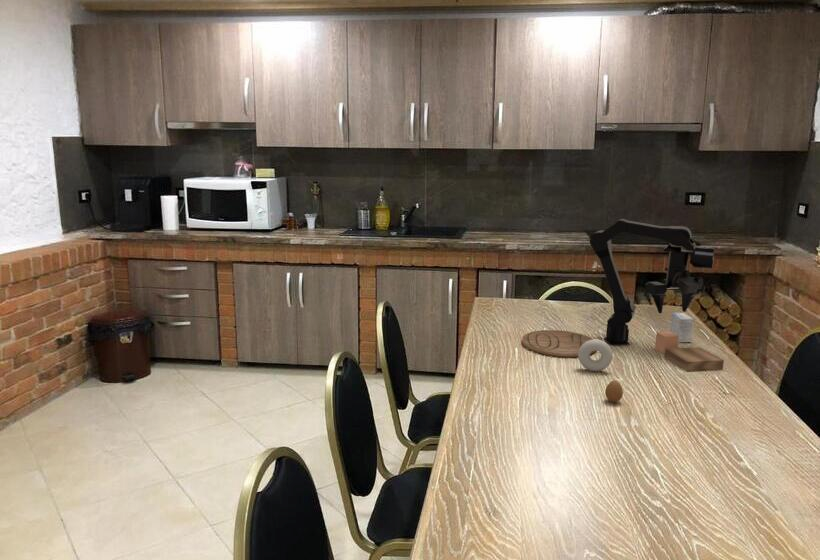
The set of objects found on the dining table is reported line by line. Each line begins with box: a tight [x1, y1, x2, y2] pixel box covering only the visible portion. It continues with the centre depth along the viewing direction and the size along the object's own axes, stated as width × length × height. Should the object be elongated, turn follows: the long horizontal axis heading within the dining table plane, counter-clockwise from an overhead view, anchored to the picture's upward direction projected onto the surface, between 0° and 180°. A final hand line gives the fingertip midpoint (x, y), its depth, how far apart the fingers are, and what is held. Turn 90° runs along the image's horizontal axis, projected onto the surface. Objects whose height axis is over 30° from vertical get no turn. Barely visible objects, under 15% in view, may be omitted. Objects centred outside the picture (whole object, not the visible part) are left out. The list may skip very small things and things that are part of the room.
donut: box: [577, 338, 614, 372], centre depth 190 cm, size 10×4×10 cm, turn 77°
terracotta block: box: [654, 330, 679, 355], centre depth 209 cm, size 5×5×6 cm
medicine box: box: [669, 312, 694, 344], centre depth 222 cm, size 8×4×9 cm, turn 179°
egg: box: [604, 380, 624, 403], centre depth 169 cm, size 4×4×6 cm
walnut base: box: [664, 346, 725, 372], centre depth 198 cm, size 12×12×3 cm
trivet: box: [521, 329, 598, 359], centre depth 214 cm, size 25×25×2 cm
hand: (672, 312), depth 208 cm, fingers open, 9 cm apart
